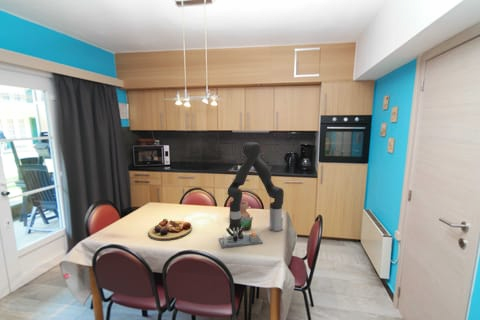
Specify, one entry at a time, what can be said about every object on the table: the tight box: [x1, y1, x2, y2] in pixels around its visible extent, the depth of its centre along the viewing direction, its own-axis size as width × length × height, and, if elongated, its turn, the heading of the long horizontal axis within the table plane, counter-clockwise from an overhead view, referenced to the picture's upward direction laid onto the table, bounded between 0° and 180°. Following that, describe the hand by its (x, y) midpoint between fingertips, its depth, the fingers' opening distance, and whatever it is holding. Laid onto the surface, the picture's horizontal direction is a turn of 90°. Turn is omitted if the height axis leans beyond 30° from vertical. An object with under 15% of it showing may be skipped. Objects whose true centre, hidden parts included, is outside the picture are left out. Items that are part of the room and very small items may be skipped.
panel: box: [218, 233, 263, 249], centre depth 162 cm, size 28×13×4 cm, turn 103°
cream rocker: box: [226, 231, 233, 240], centre depth 163 cm, size 8×4×2 cm, turn 102°
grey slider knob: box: [222, 234, 227, 244], centre depth 157 cm, size 2×4×5 cm, turn 13°
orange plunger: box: [250, 230, 258, 237], centre depth 161 cm, size 4×4×5 cm
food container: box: [240, 216, 254, 231], centre depth 181 cm, size 12×6×10 cm, turn 66°
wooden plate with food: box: [148, 218, 193, 241], centre depth 179 cm, size 32×32×8 cm
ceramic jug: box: [240, 200, 251, 217], centre depth 201 cm, size 18×14×14 cm
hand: (235, 241), depth 159 cm, fingers closed
